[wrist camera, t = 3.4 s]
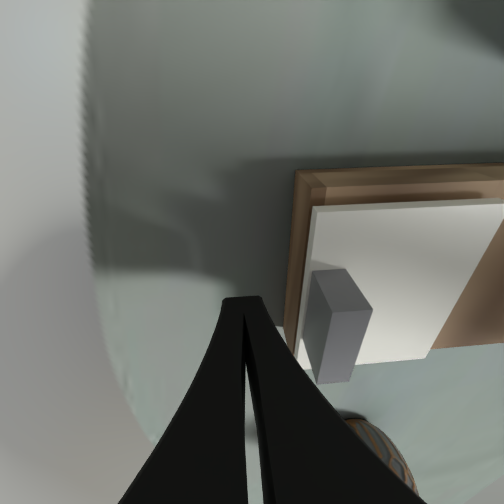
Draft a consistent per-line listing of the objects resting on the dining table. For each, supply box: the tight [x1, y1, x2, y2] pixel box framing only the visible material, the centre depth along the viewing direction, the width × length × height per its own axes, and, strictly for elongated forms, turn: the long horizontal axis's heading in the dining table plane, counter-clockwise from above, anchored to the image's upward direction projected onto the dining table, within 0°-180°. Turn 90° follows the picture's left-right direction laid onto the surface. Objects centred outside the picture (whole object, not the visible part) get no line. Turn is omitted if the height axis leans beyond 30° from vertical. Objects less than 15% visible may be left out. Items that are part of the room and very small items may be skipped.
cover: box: [294, 198, 504, 385], centre depth 9 cm, size 6×8×2 cm
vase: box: [345, 419, 419, 496], centre depth 19 cm, size 7×7×9 cm
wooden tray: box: [283, 163, 504, 356], centre depth 12 cm, size 14×9×2 cm, turn 90°
